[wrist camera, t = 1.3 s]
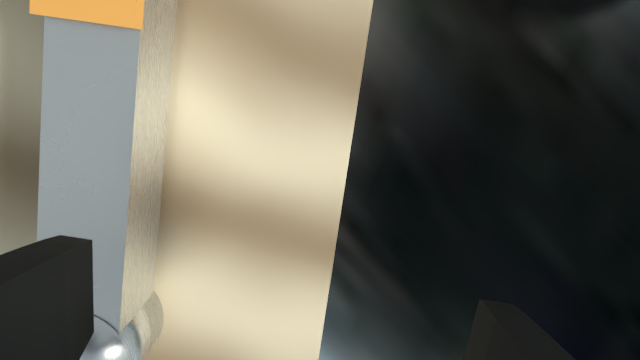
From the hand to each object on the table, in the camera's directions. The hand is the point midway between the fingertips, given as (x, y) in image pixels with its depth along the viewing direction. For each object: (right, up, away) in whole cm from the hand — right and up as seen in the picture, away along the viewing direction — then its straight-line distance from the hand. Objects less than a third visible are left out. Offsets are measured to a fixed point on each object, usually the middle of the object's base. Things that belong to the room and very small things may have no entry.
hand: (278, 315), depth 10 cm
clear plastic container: (-5, +3, +7) cm, 10 cm away
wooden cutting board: (-8, +3, +10) cm, 13 cm away
